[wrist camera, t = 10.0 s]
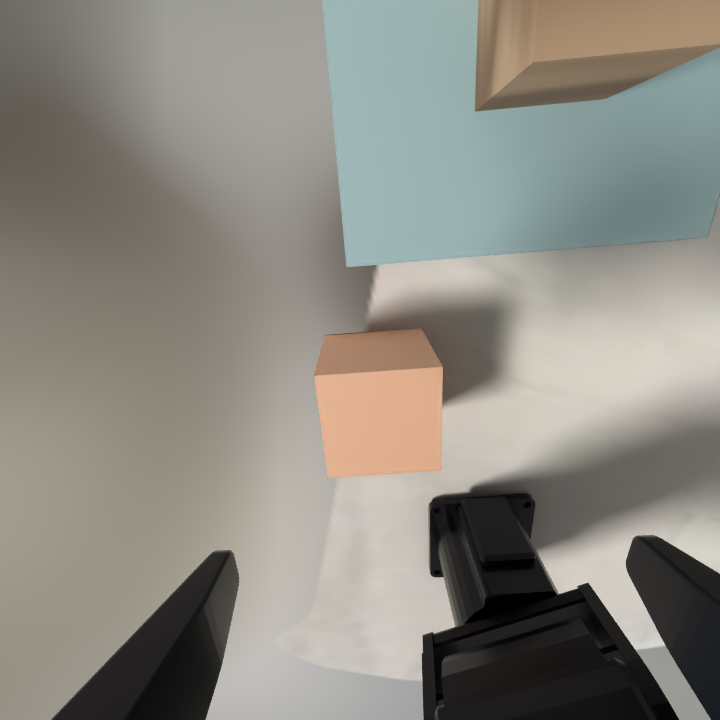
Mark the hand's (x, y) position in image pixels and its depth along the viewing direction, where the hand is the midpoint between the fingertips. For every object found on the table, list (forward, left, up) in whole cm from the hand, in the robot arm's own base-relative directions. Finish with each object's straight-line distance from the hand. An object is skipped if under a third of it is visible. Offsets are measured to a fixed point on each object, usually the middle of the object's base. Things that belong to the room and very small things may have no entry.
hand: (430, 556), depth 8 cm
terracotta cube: (-1, +1, -12) cm, 12 cm away
